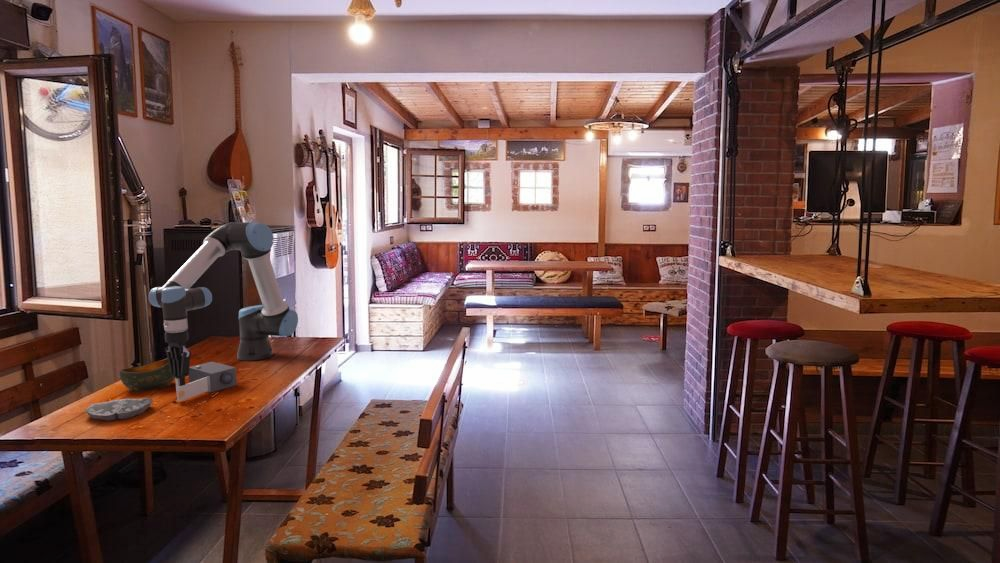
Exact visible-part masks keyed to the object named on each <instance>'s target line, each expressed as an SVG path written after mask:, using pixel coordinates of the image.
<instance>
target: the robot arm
mask: <svg viewBox="0 0 1000 563" xmlns="http://www.w3.org/2000/svg"><path fill="white" fill-rule="evenodd" d="M273 244H274V234H273V232H272V230H271V228H270V227H269V226H268V225H267V224H265V223H264V222H257V221H252V222H251V221H248V222H247V221H245V222H244V221H242V222H241V221H239V222H238V221H237V222H236V221H233V222H227V223H225V224H222V225H220V226H219V227H217V228H215V229H214V230H212V232H210V233H208V235H207V236H206V237H205V238H203V241H202V245H201V246H200V247H199V248H198V249H197V250H196V251H195V252H194V253H192V255H191V256H190V257H189V258H188V259H187V260H186V262H185V263H183V265H182V266H180V268H179V269H177V271H175V273H174V274H172V276H171V277H170V278H169V279H168V280H167V281H166V283H164V284H163V285H161V286H155V287H153V288H151V289H150V291H149V293H148V297H147V298H148V301H149V303H150V305H151V306H152V307H156V308H162V316H163V317H162V318H163V324H162V326H163V328H164V330H163V331H165V332H164V341H165V343H167V344H168V346H167V347H165V348H164V352H165V353H166V354H165V355H166V359H167V358H168V363H169V368H170V372H171V375H174V377H175V379H174V380H175V381H174V382H175V388H176V387H179V386H182V385H185V384H186V377H189V367H191V365H190V363H191V362H190V361H191V356H192V351H191V350H188V348H187V344H186V342H188V341H189V339H190V337H189V323H188V312H189V311H193V310H198V309H203V308H206V307H207V306H209V305H211V303H212V302H213V294H212V292H211V291H210V289H209V288H207V287H205V286H203V287H202V286H201V287H199V286H198V287H195V288H194V287H193V285H194V284H195V283H196V282H197V280H198V279H200V278H201V277H202V275H204V273H205V272H206V271H207V270H208V269H209V268H210V266H212V265H213V263H214V262H215V261H216V260H217V259H218V258H219V257H223V256H224V255H225V254H226V253H227V252H228V253H229V252H230V251H240V253H241V256H242V258H243V259H245V260H247V262H248V265H249V268H250V271H251V274H252V277H253V280H254V283H255V286H256V290H257V292H258V295H259V297H260V301H261V304H259V305H258V304H257V305H253V306H252V305H251V306H247V307H243V308H241V309H239V311H238V325H239V326H238V327H239V328H238V330H239V345H238V349H237V353H236V357H237V360H238V361H239V360H240V361H245V362H246V361H260V360H265V359H268V358H271V357H272V356H273V355H274V351H273V348H272V345H271V343H270V340H269V338H268V336H277V337H289V336H291V335H293V333H294V332H295V331H296V330H297V327H298V323H299V316H298V313H297V312H296V311H295V310H293V309H290V306H289V303H288V302H286V301H284V298H283V295H282V293H281V289H280V286H279V284H278V283H279V282H278V279H277V277H276V274H275V271H274V268H273V264H272V260H271V259H270V253H271V251H272V247H273ZM191 287H193V288H191ZM175 390H176V389H175ZM175 394H176V395H177V390H176V392H175Z"/></svg>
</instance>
